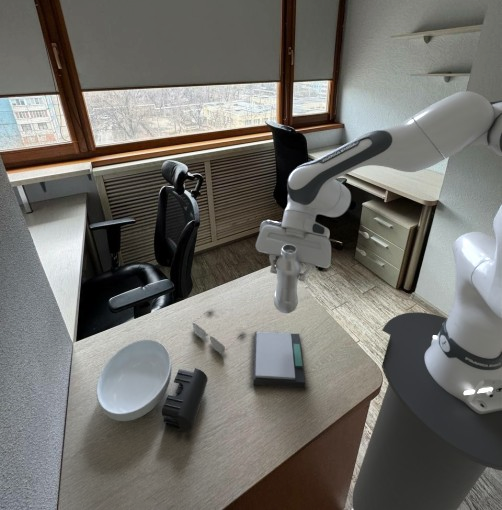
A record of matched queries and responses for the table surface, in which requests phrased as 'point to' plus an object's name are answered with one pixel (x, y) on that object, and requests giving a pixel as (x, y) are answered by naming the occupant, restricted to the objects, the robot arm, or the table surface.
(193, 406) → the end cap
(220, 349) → the eyeglasses
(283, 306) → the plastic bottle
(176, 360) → the table surface
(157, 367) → the cereal bowl
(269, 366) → the scale
